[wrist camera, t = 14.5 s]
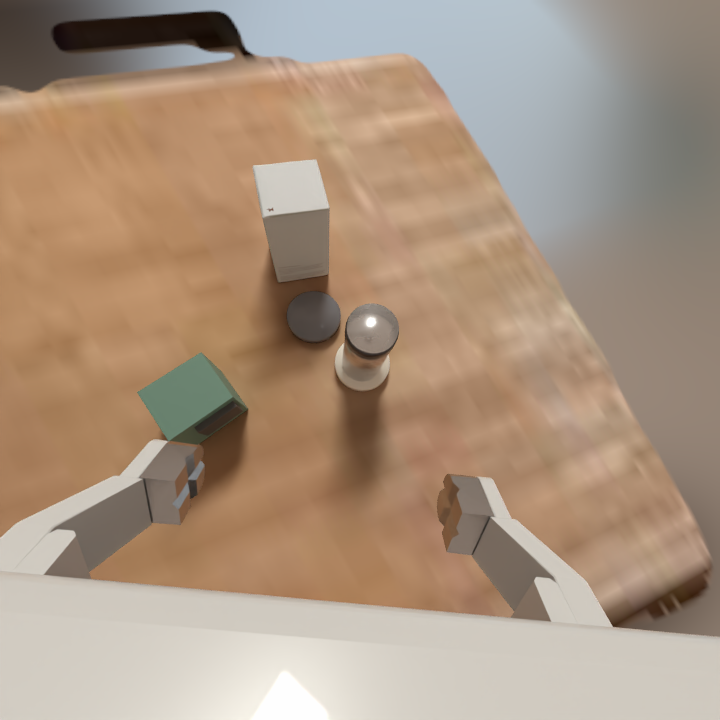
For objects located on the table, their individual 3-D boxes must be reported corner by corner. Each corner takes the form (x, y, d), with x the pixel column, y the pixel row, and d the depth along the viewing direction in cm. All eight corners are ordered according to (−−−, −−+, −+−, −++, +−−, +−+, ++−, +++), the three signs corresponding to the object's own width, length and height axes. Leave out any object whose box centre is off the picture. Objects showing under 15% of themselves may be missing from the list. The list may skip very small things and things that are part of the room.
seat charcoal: (308, 353, 43) (307, 349, 42) (277, 313, 44) (276, 309, 43) (350, 323, 45) (351, 320, 44) (319, 286, 46) (319, 282, 45)
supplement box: (329, 276, 47) (331, 210, 35) (277, 283, 46) (260, 218, 34) (319, 233, 49) (317, 157, 37) (269, 239, 48) (250, 163, 36)
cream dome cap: (357, 402, 42) (358, 400, 41) (323, 360, 43) (323, 357, 42) (399, 370, 44) (400, 367, 42) (365, 330, 45) (366, 327, 44)
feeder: (198, 451, 38) (172, 447, 32) (168, 405, 39) (137, 392, 33) (251, 413, 40) (236, 402, 33) (221, 371, 41) (201, 352, 35)
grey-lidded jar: (358, 390, 41) (369, 363, 31) (332, 358, 42) (334, 321, 32) (390, 366, 42) (410, 332, 32) (364, 335, 43) (376, 293, 33)
